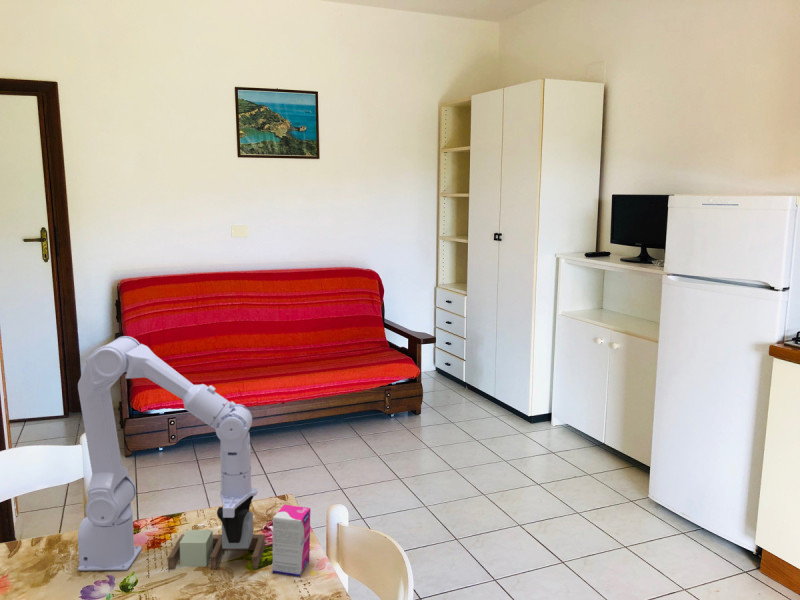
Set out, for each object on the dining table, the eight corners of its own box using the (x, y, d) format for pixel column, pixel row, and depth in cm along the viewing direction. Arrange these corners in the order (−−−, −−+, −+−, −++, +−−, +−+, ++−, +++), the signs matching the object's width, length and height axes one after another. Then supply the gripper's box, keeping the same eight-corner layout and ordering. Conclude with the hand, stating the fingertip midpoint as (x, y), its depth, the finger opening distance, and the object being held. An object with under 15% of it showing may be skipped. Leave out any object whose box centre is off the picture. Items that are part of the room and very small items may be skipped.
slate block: (222, 548, 124) (221, 524, 124) (228, 535, 129) (227, 512, 129) (248, 548, 125) (247, 524, 124) (253, 535, 129) (252, 511, 129)
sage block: (180, 566, 125) (179, 542, 124) (188, 553, 129) (187, 529, 129) (206, 567, 125) (205, 542, 124) (213, 553, 130) (212, 530, 129)
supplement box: (300, 577, 122) (300, 520, 120) (271, 573, 123) (270, 517, 121) (311, 561, 127) (310, 506, 125) (283, 557, 128) (282, 503, 127)
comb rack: (168, 569, 123) (167, 557, 123) (181, 546, 132) (181, 534, 131) (257, 568, 124) (257, 556, 124) (264, 545, 133) (264, 534, 132)
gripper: (249, 485, 118) (251, 554, 120) (263, 454, 132) (264, 516, 134) (210, 485, 117) (212, 554, 119) (228, 454, 132) (229, 517, 134)
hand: (237, 534), depth 127 cm, fingers closed on slate block, 5 cm apart
